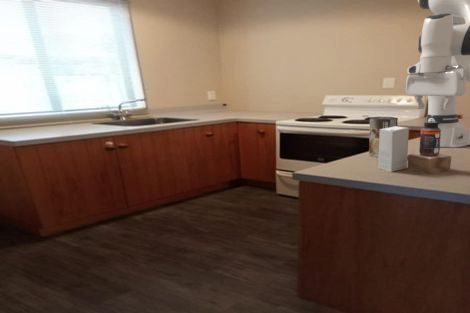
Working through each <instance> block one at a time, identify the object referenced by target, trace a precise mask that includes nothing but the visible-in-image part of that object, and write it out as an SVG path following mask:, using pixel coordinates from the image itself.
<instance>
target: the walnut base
mask: <svg viewBox="0 0 470 313" xmlns="http://www.w3.org/2000/svg"><path fill="white" fill-rule="evenodd" d="M451 163H452V156H451V155H448V154H442V153H439V155H437V156H425V155H421V154H420V153H419V152H416V153H411V154H408V155H407V170H412V171H415V172H420V173H422V174H427V175H433V174H439V173H445V172H450V171H451Z"/></svg>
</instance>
